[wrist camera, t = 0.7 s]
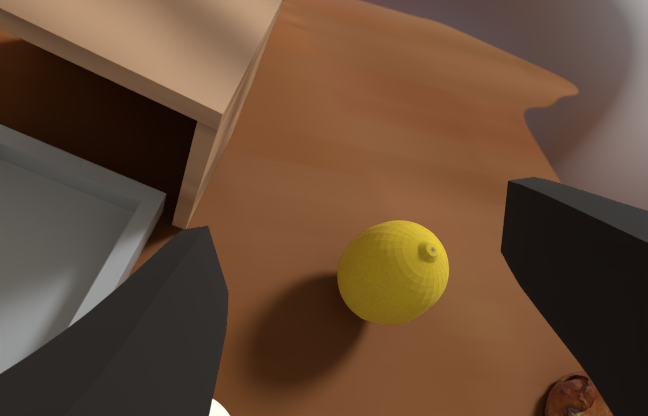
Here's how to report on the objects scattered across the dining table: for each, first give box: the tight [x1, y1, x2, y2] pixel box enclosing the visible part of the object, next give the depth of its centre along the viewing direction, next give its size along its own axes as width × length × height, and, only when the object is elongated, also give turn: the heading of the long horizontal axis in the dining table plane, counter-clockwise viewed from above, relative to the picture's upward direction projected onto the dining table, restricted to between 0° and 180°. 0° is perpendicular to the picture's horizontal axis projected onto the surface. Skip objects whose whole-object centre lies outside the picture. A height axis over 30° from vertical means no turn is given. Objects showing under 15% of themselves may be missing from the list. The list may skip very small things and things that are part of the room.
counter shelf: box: [0, 0, 284, 230], centre depth 20 cm, size 8×12×11 cm
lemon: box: [337, 220, 449, 325], centre depth 23 cm, size 6×6×8 cm
